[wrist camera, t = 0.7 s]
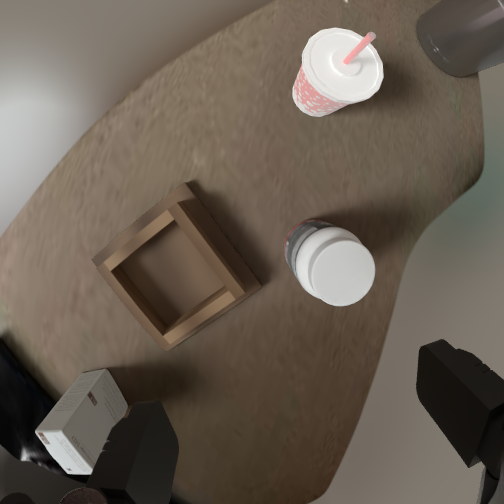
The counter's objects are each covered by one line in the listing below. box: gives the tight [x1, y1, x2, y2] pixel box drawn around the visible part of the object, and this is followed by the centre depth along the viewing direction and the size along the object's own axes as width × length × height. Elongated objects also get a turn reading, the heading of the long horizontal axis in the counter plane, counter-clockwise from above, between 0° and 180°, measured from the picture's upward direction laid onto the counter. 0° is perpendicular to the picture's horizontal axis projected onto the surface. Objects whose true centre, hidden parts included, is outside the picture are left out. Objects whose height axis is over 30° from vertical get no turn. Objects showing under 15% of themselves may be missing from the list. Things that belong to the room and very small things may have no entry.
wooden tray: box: [91, 182, 262, 352], centre depth 29 cm, size 12×12×4 cm
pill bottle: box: [284, 219, 375, 306], centre depth 26 cm, size 6×6×10 cm
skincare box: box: [35, 369, 128, 474], centre depth 27 cm, size 6×4×12 cm
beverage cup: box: [293, 28, 383, 117], centre depth 21 cm, size 6×6×14 cm
